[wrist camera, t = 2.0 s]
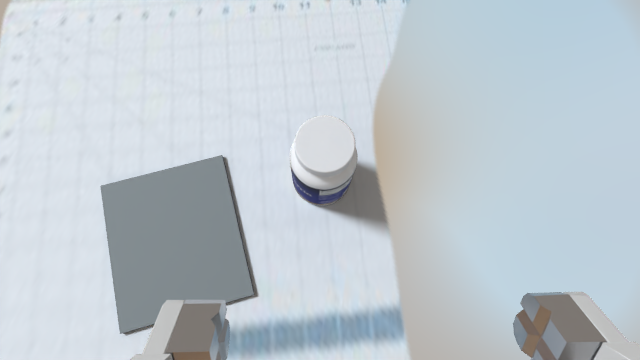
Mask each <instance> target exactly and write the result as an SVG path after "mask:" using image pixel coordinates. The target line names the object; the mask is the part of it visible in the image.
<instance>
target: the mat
mask: <svg viewBox="0 0 640 360" xmlns="http://www.w3.org/2000/svg"><path fill="white" fill-rule="evenodd" d="M101 193H102V201H103V208H104V216H105V223H106V231H107V239H108V246H109V254H110V261H111V269H112V276H113V284H114V292H115V299H116V307H117V314H118V322H119V329H120V334H121V333H125V332H128V331H132V330H135V329H139V328H142V327H146V326H149V325H152V324H155V322H156V319H157V317H158V315H159V312H160V310H161V308H162V305H163V304H164V303H165V302H166V300H225V302H226V303H227V302H231V301H234V300H238V299H241V298H244V297H248V296H251V295H254V291H253V287H252V282H251V278H250V273H249V269H248V265H247V260H246V256H245V252H244V247H243V243H242V238H241V234H240V230H239V225H238V221H237V217H236V212H235V208H234V203H233V199H232V195H231V190H230V186H229V181H228V177H227V173H226V168H225V164H224V160H223V156H222V155H221V156H217V157H213V158H209V159H205V160H201V161H197V162H193V163H189V164H185V165H181V166H177V167H173V168H169V169H165V170H162V171H158V172H154V173H150V174H146V175H142V176H138V177H134V178H130V179H126V180H122V181H118V182H114V183H110V184H106V185H102V186H101Z"/></svg>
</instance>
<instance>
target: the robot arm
mask: <svg viewBox="0 0 640 360" xmlns="http://www.w3.org/2000/svg"><path fill="white" fill-rule="evenodd" d="M521 305H522V307H523V310H522V311H521V312H519V313H518V314H517V315H516V317H515V320H514V323H513V327H514V335H515V338H516V341H517V343H518V345H519V347H520V349H521V351H523V352H524V353H525V354H527V355H528V356H530V357H531V360H640V345H639V344H638V343H636V342H629V341H628V340H627V339H626V338H625V337H624V336H623V334H622V333H621V332H620V331H619V330H618V329H617V328H616V326H615V325H614V324H613V323H612V322H611V321H610V320H609V318H608V317H607V316H606V315H605V314H604V313H603V312H602V311H601V309H600V308H599V307H598V306H597V305H596V304H595V302H594V301H593V300H592V299H591V298H590V297H589V296H588V295H587V294H585V293H583V292H564V293H561V292H555V293H527V294H526V295H525V296H523V298H522V301H521ZM226 311H227V308H226V302H225V300H166V302H165V303H164V304H163V305H162V308H161V310H160V312H159V315H158V317H157V319H156V322H155V324H154V327H153V329H152V331H151V334H150V336H149V338H148V341H147V343H146V346H145V348H144V350H143V353H142V354H136V355H135V356H133V357H132V358H131V359H130V360H226V359H227V355H228V350H229V340H230V327H229V321H228V320H227V319H225V316H226Z"/></svg>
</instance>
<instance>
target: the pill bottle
mask: <svg viewBox="0 0 640 360" xmlns="http://www.w3.org/2000/svg"><path fill="white" fill-rule="evenodd" d="M290 165H291V172H292V178H293V184H294V187H295V189H296V191H297V193H298V194H299V195H300V197H301V198H302V199H304V200H305V201H307V202H308V203H311V204H314V205H329V204H332V203H334V202H336V201H338V200H339V199H340V198H341V197H342V196H343V195H344V194H345V193H346V191H347V189H348V187H349V185H350V182H351V179H352V177H353V174H354V171H355V169H356V165H357V150H356V147H355V138H354V135H353V132H352V131H351V129H350V128H349V126H348V125H347V124H346V123H345V122H343V121H342V120H340V119H338V118H336V117H333V116H327V115H323V116H316V117H313V118H311V119H309V120H307V121H306V122H305V123H304V124H302V126H301V127H300V128H299V130H298V131H297V134H296V137H295V140H294V142H293V144H292V146H291V150H290Z"/></svg>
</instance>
